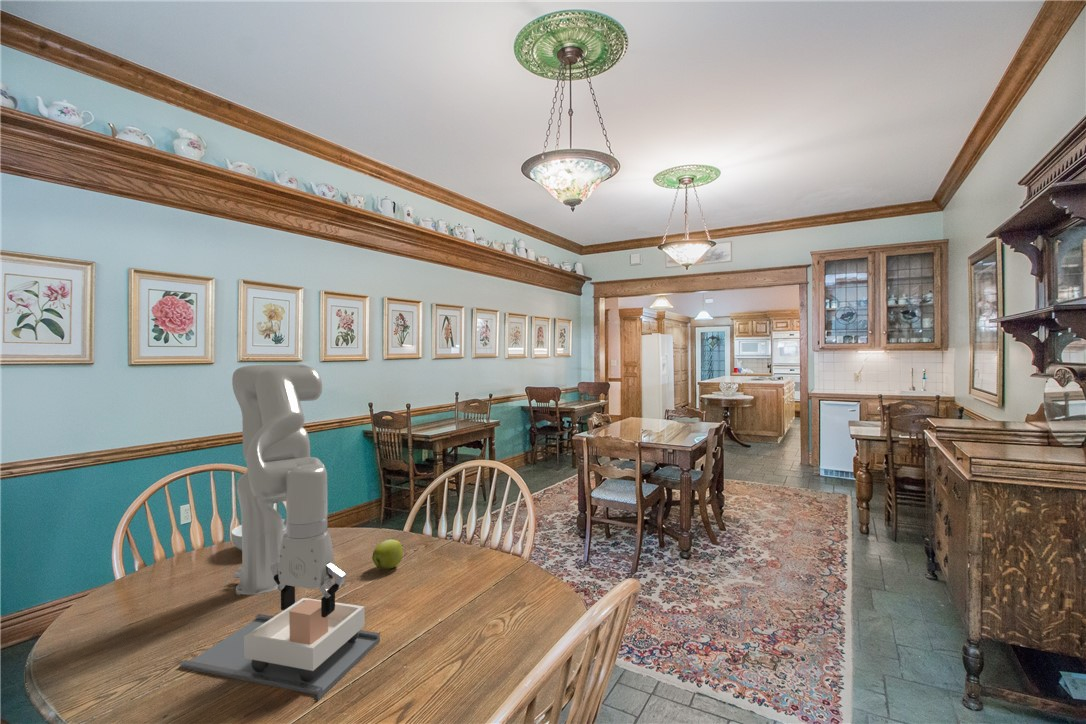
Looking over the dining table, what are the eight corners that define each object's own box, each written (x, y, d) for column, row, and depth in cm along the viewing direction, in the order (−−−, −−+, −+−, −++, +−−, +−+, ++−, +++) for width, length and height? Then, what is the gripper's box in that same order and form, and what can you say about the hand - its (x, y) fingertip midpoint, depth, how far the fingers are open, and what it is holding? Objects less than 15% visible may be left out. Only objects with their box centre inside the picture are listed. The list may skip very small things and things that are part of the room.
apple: (410, 565, 146) (409, 538, 146) (385, 576, 139) (385, 548, 138) (392, 559, 150) (391, 533, 150) (367, 570, 143) (366, 542, 143)
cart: (244, 672, 95) (244, 636, 95) (303, 628, 110) (303, 597, 110) (313, 686, 91) (312, 648, 91) (364, 638, 106) (364, 606, 106)
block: (289, 641, 99) (289, 611, 99) (308, 627, 104) (308, 599, 104) (310, 645, 97) (309, 615, 97) (328, 631, 102) (327, 602, 102)
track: (180, 672, 97) (180, 662, 97) (259, 621, 116) (258, 613, 116) (318, 700, 89) (318, 690, 89) (379, 641, 107) (379, 633, 107)
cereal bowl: (249, 563, 148) (248, 539, 148) (221, 552, 157) (220, 529, 157) (302, 544, 163) (302, 523, 163) (274, 535, 172) (273, 515, 171)
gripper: (257, 529, 99) (258, 613, 100) (331, 538, 95) (331, 627, 95) (285, 517, 106) (286, 595, 107) (355, 525, 102) (356, 607, 102)
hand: (307, 610), depth 101 cm, fingers open, 9 cm apart
